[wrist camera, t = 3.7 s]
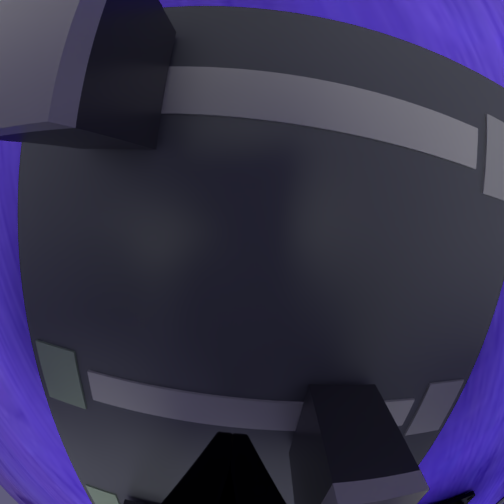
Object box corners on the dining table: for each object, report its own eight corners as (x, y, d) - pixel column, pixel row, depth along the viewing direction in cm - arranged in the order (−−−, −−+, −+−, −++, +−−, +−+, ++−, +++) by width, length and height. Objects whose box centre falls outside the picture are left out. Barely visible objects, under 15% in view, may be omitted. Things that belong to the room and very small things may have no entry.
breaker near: (176, 32, 6) (115, -73, 2) (156, 150, 6) (48, 121, 2) (102, 38, 6) (11, -33, 2) (81, 149, 6) (-45, 137, 2)
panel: (494, 103, 7) (521, 97, 6) (356, 516, 12) (361, 535, 11) (70, 43, 7) (45, 27, 6) (104, 495, 12) (97, 514, 10)
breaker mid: (375, 384, 8) (429, 489, 4) (346, 451, 8) (374, 545, 5) (308, 384, 8) (338, 506, 4) (288, 452, 8) (300, 556, 4)
